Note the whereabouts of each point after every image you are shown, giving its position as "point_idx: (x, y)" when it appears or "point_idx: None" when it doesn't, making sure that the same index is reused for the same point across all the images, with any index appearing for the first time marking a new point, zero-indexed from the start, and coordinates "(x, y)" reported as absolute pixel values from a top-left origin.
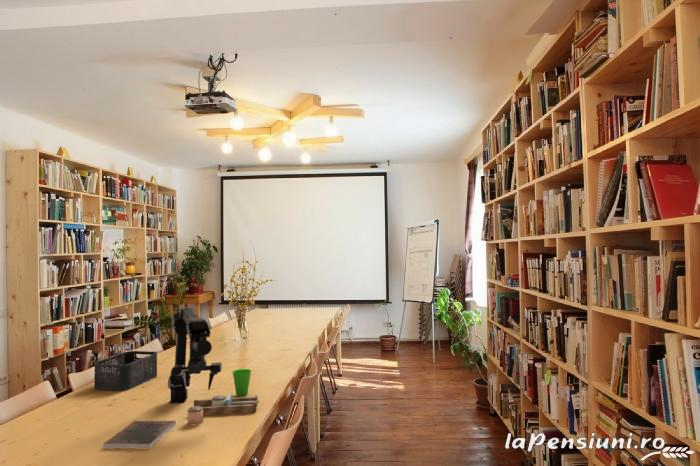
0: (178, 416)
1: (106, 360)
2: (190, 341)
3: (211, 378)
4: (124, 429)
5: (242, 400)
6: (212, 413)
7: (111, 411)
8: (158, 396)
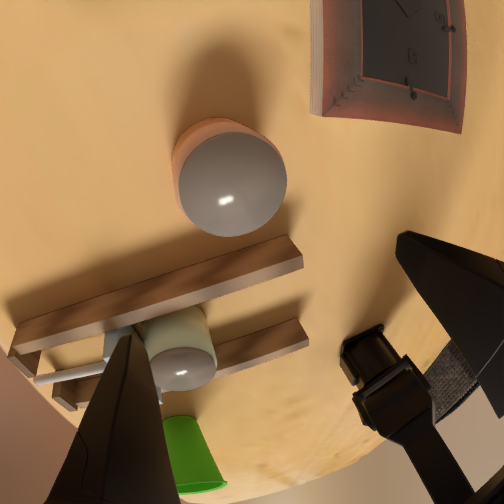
0: (333, 226)
1: None
2: None
3: (71, 485)
4: (463, 49)
5: None
6: (172, 276)
7: (485, 235)
8: (406, 344)
